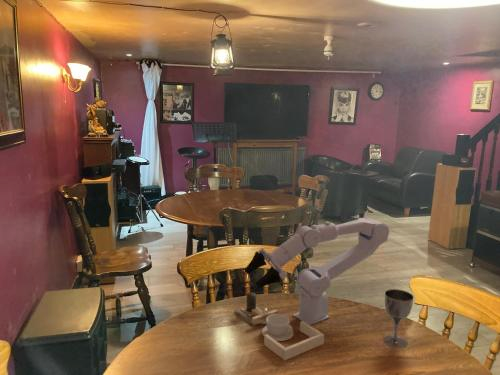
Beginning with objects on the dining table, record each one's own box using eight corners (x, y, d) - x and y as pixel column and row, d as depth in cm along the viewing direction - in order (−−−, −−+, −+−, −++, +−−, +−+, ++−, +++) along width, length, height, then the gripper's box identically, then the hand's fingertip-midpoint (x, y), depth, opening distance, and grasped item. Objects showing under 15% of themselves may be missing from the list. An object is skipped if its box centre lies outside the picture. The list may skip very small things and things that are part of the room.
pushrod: (257, 306, 143) (258, 288, 142) (278, 319, 133) (278, 300, 132) (234, 313, 137) (234, 294, 136) (253, 328, 128) (254, 308, 127)
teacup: (255, 335, 124) (255, 321, 124) (271, 322, 133) (272, 309, 132) (283, 346, 119) (284, 331, 118) (299, 331, 127) (299, 317, 126)
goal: (302, 329, 128) (302, 321, 127) (323, 343, 120) (324, 334, 120) (264, 344, 119) (264, 335, 119) (284, 360, 112) (285, 350, 111)
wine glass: (385, 331, 128) (389, 286, 125) (411, 339, 123) (416, 293, 121) (377, 342, 121) (381, 295, 119) (405, 351, 117) (409, 303, 114)
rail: (253, 306, 143) (253, 303, 143) (272, 319, 134) (272, 316, 134) (235, 312, 139) (235, 309, 138) (253, 325, 130) (253, 322, 130)
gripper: (269, 233, 132) (236, 258, 129) (293, 257, 120) (257, 285, 118) (277, 247, 136) (245, 271, 133) (300, 271, 124) (266, 298, 122)
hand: (251, 278), depth 126 cm, fingers open, 7 cm apart
